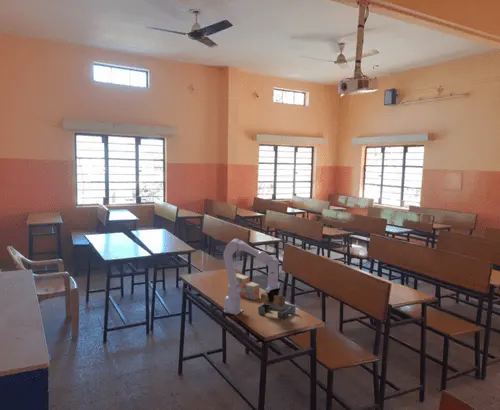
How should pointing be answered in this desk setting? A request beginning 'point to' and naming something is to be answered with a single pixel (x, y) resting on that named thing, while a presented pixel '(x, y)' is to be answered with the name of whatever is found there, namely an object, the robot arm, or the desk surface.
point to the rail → (276, 301)
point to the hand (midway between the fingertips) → (272, 300)
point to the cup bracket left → (263, 308)
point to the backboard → (289, 306)
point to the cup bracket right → (283, 313)
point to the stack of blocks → (248, 287)
